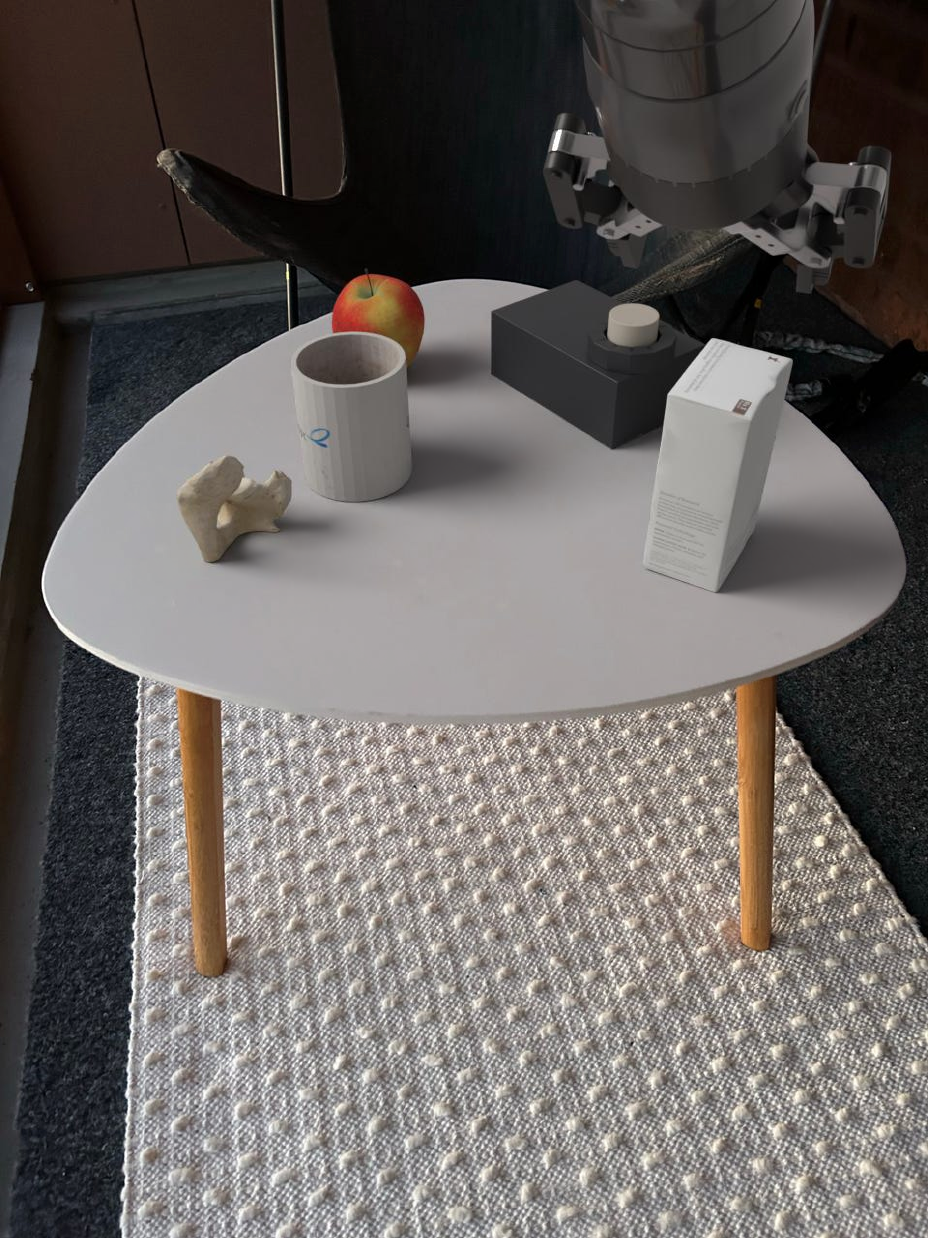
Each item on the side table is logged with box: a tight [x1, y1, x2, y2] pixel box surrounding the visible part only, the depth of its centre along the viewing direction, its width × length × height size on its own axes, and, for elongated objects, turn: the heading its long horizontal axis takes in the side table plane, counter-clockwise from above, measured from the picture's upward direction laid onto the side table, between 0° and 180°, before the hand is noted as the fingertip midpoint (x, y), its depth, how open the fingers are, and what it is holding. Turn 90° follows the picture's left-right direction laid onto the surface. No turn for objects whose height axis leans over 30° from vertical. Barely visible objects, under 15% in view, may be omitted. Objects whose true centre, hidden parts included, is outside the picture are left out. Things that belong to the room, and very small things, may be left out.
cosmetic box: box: [642, 337, 794, 593], centre depth 74 cm, size 8×6×15 cm
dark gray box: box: [490, 279, 706, 450], centre depth 94 cm, size 17×10×8 cm, turn 37°
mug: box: [289, 332, 413, 503], centre depth 86 cm, size 12×9×10 cm
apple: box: [331, 268, 426, 369], centre depth 96 cm, size 8×8×10 cm
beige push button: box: [607, 303, 660, 347], centre depth 87 cm, size 4×4×2 cm
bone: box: [175, 454, 293, 563], centre depth 79 cm, size 9×6×10 cm
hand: (720, 261), depth 54 cm, fingers open, 8 cm apart
